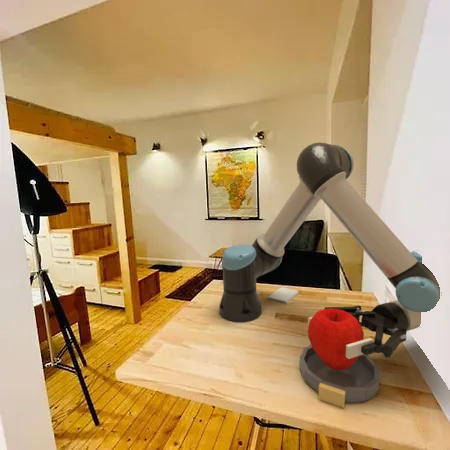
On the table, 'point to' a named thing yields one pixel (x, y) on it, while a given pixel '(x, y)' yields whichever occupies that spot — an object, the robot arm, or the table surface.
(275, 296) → the hard drive
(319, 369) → the dish
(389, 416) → the table surface
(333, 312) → the apple
